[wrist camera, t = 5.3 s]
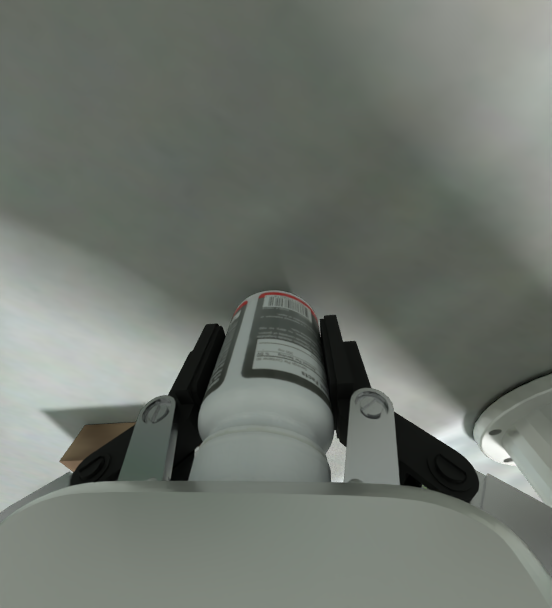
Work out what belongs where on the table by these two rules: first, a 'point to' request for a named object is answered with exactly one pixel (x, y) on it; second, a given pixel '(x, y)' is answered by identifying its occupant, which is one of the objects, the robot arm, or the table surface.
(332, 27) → the table surface
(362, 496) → the robot arm
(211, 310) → the table surface
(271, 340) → the pill bottle
